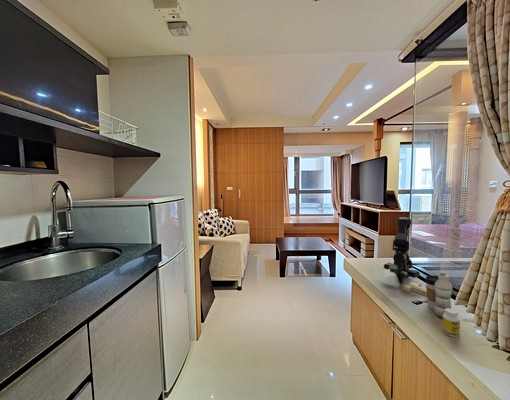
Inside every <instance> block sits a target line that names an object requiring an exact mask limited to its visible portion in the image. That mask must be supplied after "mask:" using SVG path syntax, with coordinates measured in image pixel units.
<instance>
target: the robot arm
mask: <svg viewBox="0 0 510 400" xmlns="http://www.w3.org/2000/svg"><path fill="white" fill-rule="evenodd" d="M396 225H397V227H398V228H397V234H396V235H394V239H393V241H392V251H395V253H394V255H393V257H392V259H393V263H391V262H387V263H386V262H385V264H383V269H384V270H389V272H390V273H393V274H394V275H396V278H398V280H399V283H400V284H402V283H403V281H405V279H406V278H409V277H410V278H413V279H416V278H418V277H420V276H421V274H420V271H419V270H415V269H413V262H412V259H411V257H410V255H409V253H408V252H409V251H410V242H409V240H408V234H409V233H408V231H409V230H410V229H411V226H412V225H413V220H412V219H411V218H410V217H402V216H401V217H400V216H399V218H396Z"/></svg>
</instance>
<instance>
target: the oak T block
mask: <svg viewBox="0 0 510 400" xmlns="http://www.w3.org/2000/svg"><path fill="white" fill-rule="evenodd" d="M422 287H423V286H422V284H421V283H419V282H417V281H412V282H410V283H409V284H406V285H404V286H402V290H404V291H403V292H405V291H407V292H406V293H408V292H411V291H415V292H418V293H421V294H423V295H426V296H427V291H426V289H425V288H426V287H424V288H422ZM402 290H401V291H402Z"/></svg>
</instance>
